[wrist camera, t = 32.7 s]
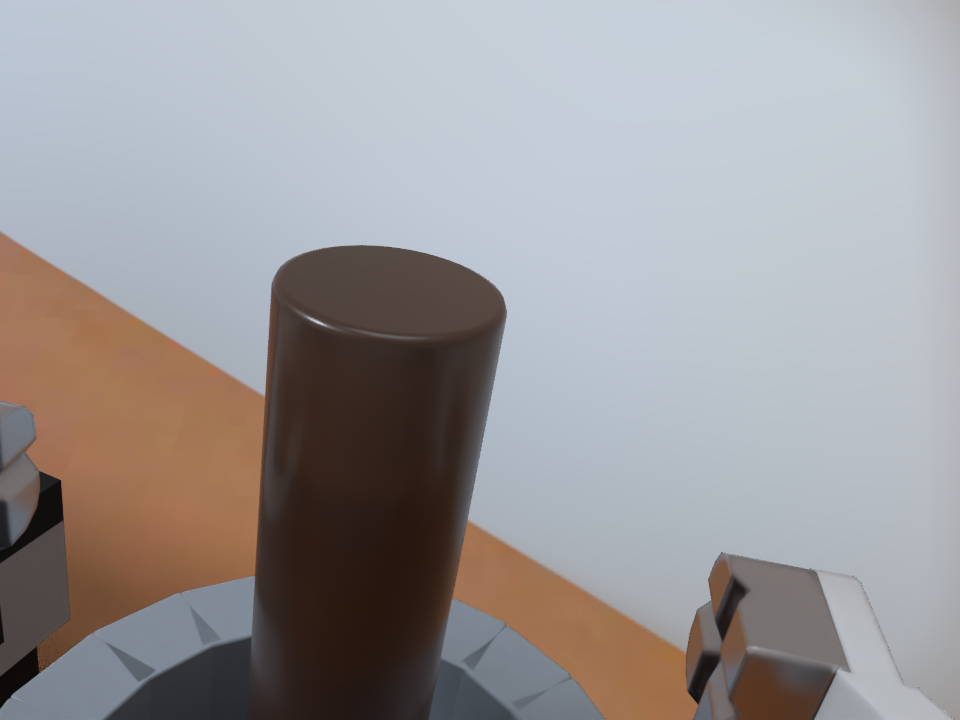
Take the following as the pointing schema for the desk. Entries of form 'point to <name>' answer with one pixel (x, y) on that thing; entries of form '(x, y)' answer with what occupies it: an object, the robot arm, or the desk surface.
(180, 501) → the desk surface
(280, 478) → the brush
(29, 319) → the desk surface
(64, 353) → the desk surface
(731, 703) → the robot arm
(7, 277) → the desk surface
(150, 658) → the hollow cylinder
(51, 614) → the game console
